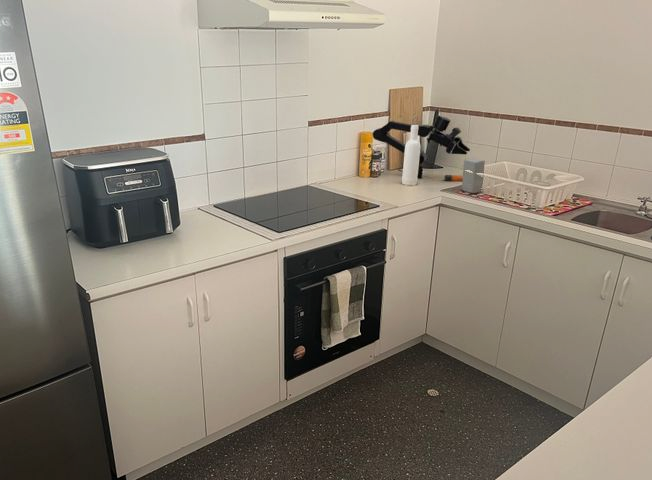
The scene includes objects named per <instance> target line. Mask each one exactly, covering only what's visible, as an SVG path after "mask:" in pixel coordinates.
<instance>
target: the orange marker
mask: <svg viewBox="0 0 652 480" xmlns="http://www.w3.org/2000/svg"><path fill="white" fill-rule="evenodd" d="M443 179H444V181H445V182H462V180H463V175H453V174H445V175H444V177H443Z"/></svg>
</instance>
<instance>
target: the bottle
mask: <svg viewBox="0 0 652 480" xmlns="http://www.w3.org/2000/svg"><path fill="white" fill-rule="evenodd" d="M418 125H419V124H411V132H409V133H410V134H409V139H408V140H407V141H406V142H405V153H403V165H402V176H401V184H402V185H405V186H415V185H417V183H418V179H419V178H417V177H418V167H419V157H420V150H421V142H420V141H419V139H418V137H419V136H418V129H419V128H418Z"/></svg>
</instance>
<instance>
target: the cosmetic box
mask: <svg viewBox="0 0 652 480" xmlns="http://www.w3.org/2000/svg"><path fill="white" fill-rule="evenodd" d="M485 162H486V161H485V160H482V159H478V158H475V157H474V158H468V159H463V168H462V176H463V180H462V181H461V191H464V192H467V193H470V194H477V193H483V190H482V191H481V188H482V184H483V185H484V176H483V177H481V176H479V175H477V174H476V173H483V174H485V164H486V163H485ZM465 170H470V171H472V172H473V173H469V172H467V171H465ZM482 189H483V188H482Z"/></svg>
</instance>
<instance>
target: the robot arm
mask: <svg viewBox="0 0 652 480" xmlns="http://www.w3.org/2000/svg"><path fill="white" fill-rule="evenodd" d="M450 123H451V119H450V118H448V117H445V116H441V115H438V116H437V118H436V120H435V123H434V124H432V125H429V124H417V125H418V128H419V129H418V136H417V137H422V138H426V137H427V138H426V141H427V144H430V143H431V142H433V143H436V144H437V145H439V146H440V147H444V148H445V152H446V154H448V155H467V154H468V152H470V151H471V148H469V147H468V146H467V145H465V144H464V142H463V140H462V136H461V137H460V136H458V135H459V134H461V133H462V130H461V129H460V128H459V127H453V128H452V129H451V132H450V133H447V134H445V133H443V132H446V131H447V129H448V128H449V125H450ZM411 125H412V124H411V123H405V122H400V121H395V120H390V121H388V122H387V123H386V124H385V125H383V126H382V127H379V128H378V127H377V129H375V130H373V132H372V138H373V139H374V140H376V141H378V142H380V143H385V144H387V145H389V146H391V147H392V148H394V149H395V150H397V151H399V152H401V153H403V154H404V153H405V145H406V143H403V142H402V141H400V140H399V139H397V138H395V137H393V136H391V134H390V133H389V132H390V131H391V130H397V131H400V132H401V131H402V132H406V133H407V132H408V133H411ZM427 158H428V157H427V153H425V150H422V149H420V157H419V167H418V177H417V178H418V179H422V177H423V171H424V170H423V166H422V165H423V163H424V162H425V161H427Z"/></svg>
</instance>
